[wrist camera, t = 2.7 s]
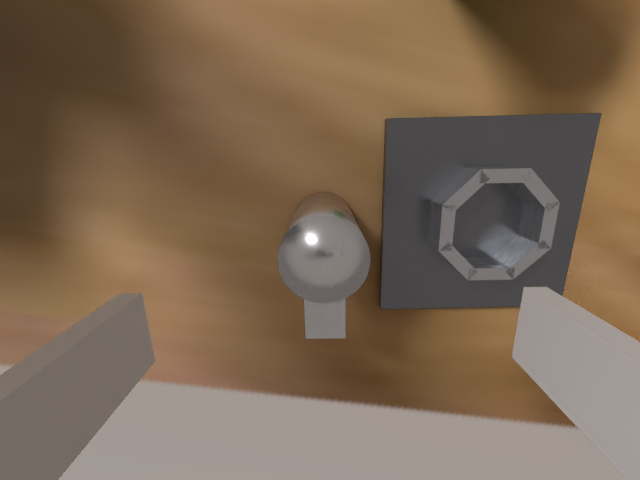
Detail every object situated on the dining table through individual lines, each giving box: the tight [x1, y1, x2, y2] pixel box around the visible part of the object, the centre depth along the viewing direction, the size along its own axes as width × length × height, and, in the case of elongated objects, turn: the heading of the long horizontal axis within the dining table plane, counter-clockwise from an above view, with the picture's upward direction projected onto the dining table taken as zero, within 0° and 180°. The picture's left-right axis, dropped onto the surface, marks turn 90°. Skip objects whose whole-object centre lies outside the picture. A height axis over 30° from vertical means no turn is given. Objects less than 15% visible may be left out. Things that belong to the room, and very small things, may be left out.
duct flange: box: [379, 113, 601, 309], centre depth 24 cm, size 16×16×3 cm
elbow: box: [278, 192, 370, 339], centre depth 22 cm, size 8×5×10 cm, turn 1°
